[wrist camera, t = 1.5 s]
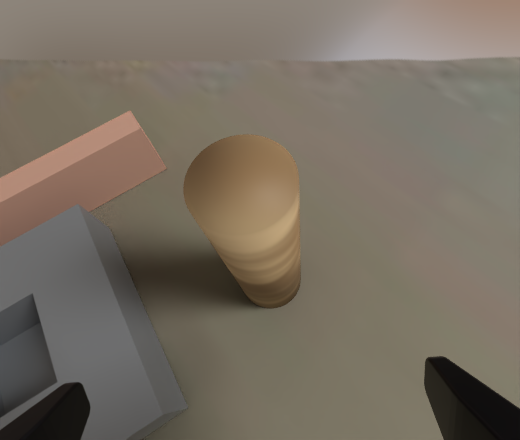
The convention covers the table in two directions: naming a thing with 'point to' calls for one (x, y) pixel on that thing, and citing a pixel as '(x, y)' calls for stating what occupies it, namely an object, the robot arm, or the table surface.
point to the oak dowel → (250, 213)
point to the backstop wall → (77, 176)
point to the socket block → (80, 330)
